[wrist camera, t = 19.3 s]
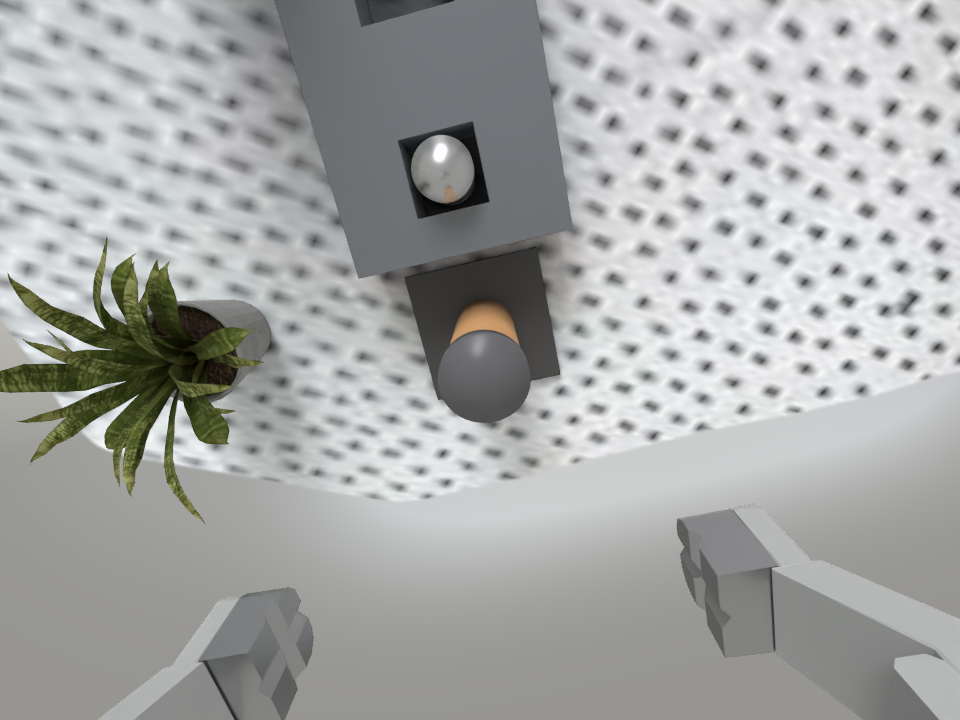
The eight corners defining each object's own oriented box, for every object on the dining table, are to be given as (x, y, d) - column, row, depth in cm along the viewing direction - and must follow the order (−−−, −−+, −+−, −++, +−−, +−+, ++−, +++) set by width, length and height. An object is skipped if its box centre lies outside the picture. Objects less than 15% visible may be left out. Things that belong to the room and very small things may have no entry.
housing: (274, -83, 28) (230, -145, 23) (496, -151, 27) (498, -231, 22) (376, 270, 34) (358, 278, 30) (560, 227, 33) (572, 228, 28)
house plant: (380, 346, 36) (298, 443, 20) (268, 451, 39) (122, 605, 23) (238, 206, 33) (17, 194, 18) (129, 330, 36) (-144, 416, 20)
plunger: (418, 156, 31) (403, 143, 26) (469, 143, 31) (465, 127, 26) (431, 210, 32) (420, 208, 27) (481, 198, 32) (479, 194, 27)
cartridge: (508, 289, 34) (520, 325, 23) (522, 349, 35) (539, 412, 24) (446, 304, 34) (426, 346, 23) (462, 363, 36) (450, 430, 24)
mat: (536, 247, 34) (536, 247, 33) (559, 372, 36) (560, 374, 36) (405, 277, 34) (404, 278, 34) (438, 397, 37) (438, 399, 37)
